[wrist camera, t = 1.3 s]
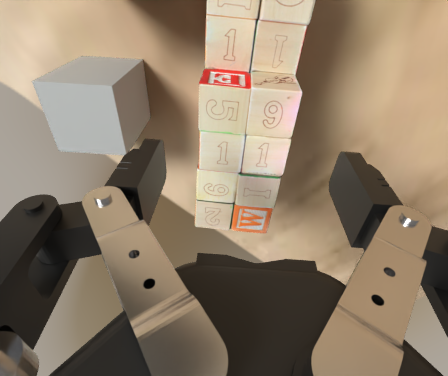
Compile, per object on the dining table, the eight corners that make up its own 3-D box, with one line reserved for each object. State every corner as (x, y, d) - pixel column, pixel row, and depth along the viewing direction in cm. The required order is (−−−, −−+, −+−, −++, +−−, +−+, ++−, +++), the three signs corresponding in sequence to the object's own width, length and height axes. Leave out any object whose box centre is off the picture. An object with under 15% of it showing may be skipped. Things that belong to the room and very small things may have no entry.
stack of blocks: (223, -103, 19) (203, -179, 10) (310, -93, 19) (377, -159, 10) (208, 154, 33) (193, 229, 23) (259, 159, 33) (266, 237, 23)
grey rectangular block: (143, 59, 26) (111, 85, 20) (150, 117, 30) (126, 155, 24) (82, 55, 26) (31, 81, 20) (97, 114, 30) (59, 151, 24)
